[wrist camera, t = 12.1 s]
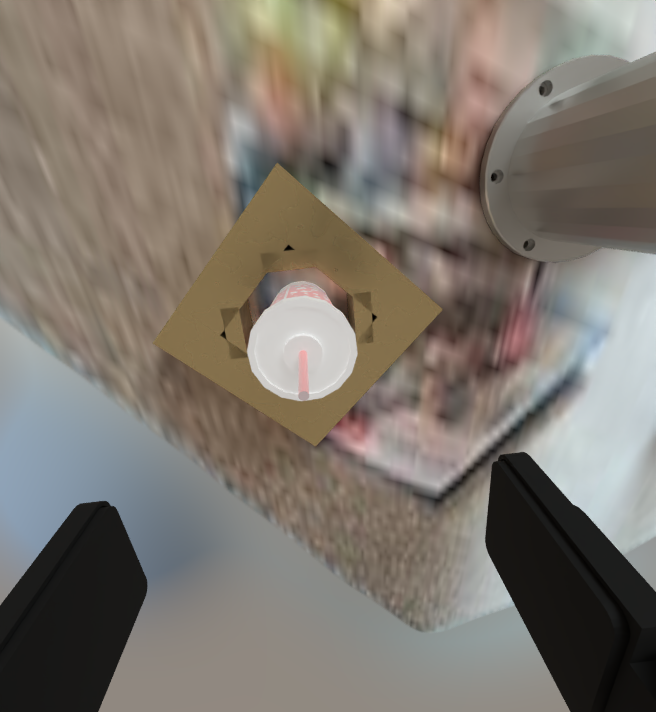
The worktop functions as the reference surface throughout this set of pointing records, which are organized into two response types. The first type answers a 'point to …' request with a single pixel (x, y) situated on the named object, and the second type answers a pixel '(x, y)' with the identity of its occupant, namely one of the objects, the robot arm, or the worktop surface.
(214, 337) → the block
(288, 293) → the beverage cup
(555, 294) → the worktop surface
